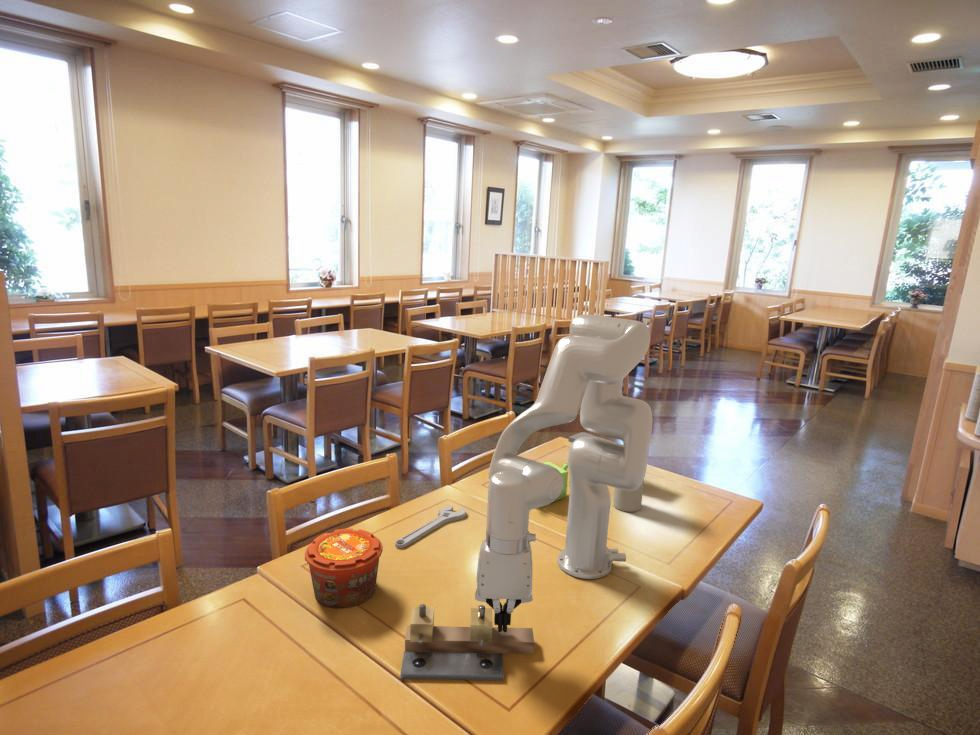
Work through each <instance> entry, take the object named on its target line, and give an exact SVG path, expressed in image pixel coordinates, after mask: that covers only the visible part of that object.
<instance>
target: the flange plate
mask: <svg viewBox="0 0 980 735" xmlns="http://www.w3.org/2000/svg"><path fill="white" fill-rule="evenodd" d="M503 661H504V660H503V653H456V652H405V651H403V658H402V662H401V668H400V674H399V675H400V680H405V679H406V680H450V681H452V680H454V681H455V680H456V681H459V680H460V681H466V680H467V681H504V663H503Z"/></svg>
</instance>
